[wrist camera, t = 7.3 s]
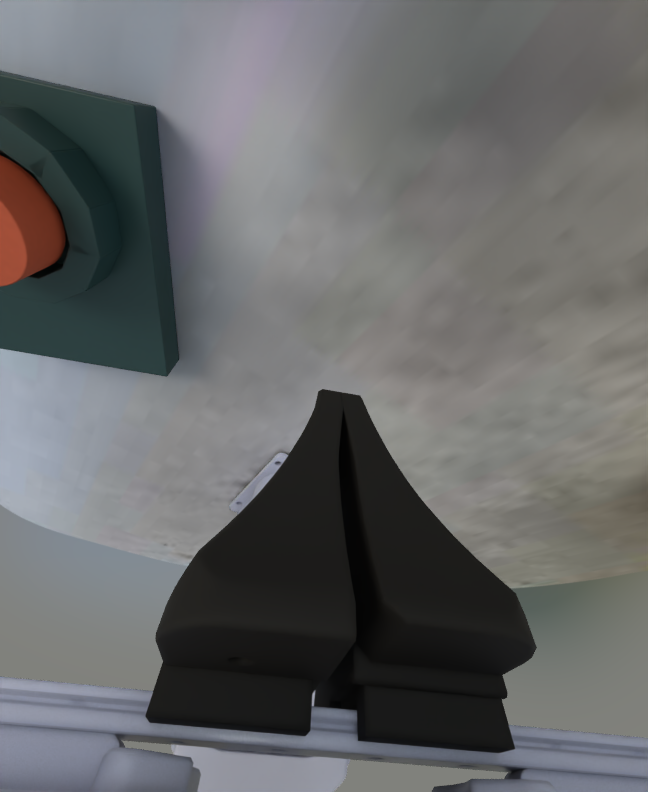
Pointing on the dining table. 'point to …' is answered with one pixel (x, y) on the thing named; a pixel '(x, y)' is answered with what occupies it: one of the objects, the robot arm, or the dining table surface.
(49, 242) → the push button
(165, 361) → the green button base
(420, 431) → the dining table surface
